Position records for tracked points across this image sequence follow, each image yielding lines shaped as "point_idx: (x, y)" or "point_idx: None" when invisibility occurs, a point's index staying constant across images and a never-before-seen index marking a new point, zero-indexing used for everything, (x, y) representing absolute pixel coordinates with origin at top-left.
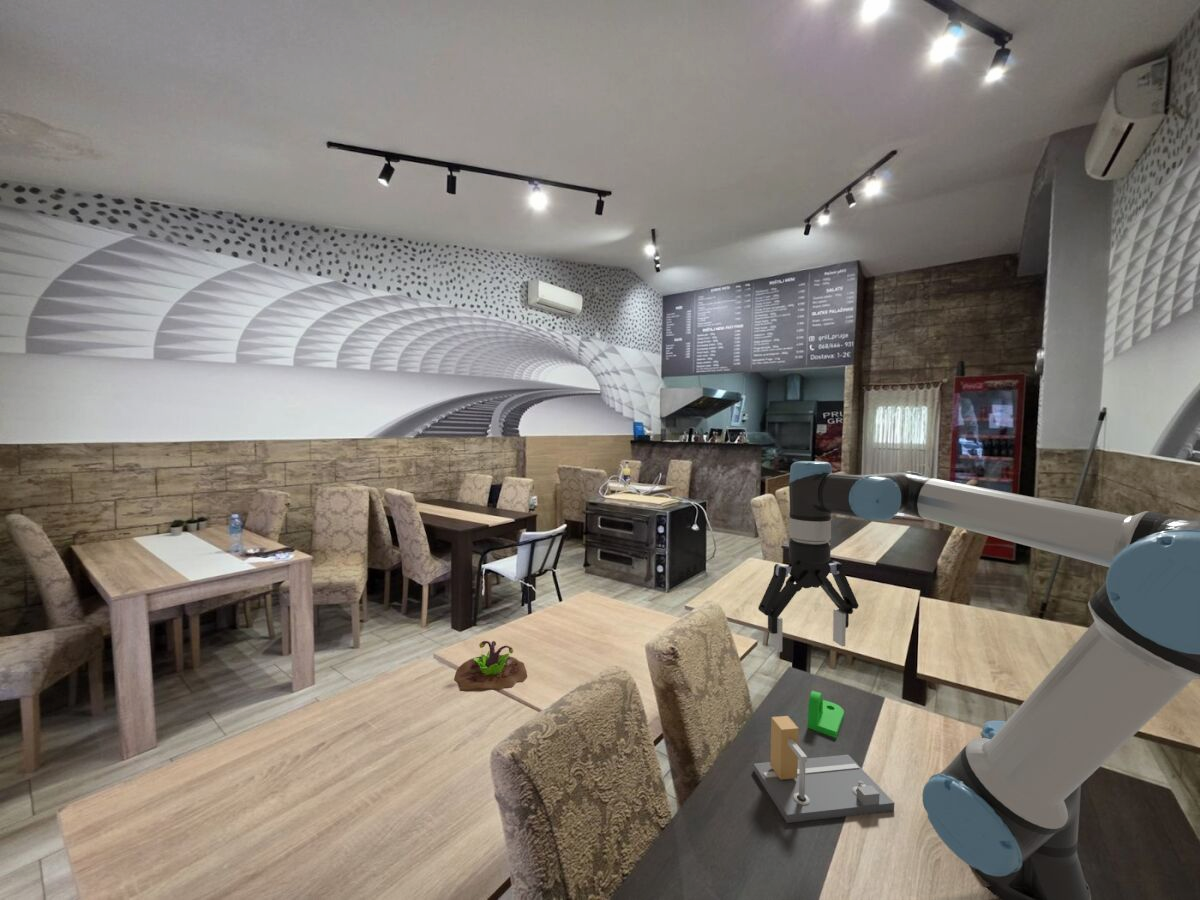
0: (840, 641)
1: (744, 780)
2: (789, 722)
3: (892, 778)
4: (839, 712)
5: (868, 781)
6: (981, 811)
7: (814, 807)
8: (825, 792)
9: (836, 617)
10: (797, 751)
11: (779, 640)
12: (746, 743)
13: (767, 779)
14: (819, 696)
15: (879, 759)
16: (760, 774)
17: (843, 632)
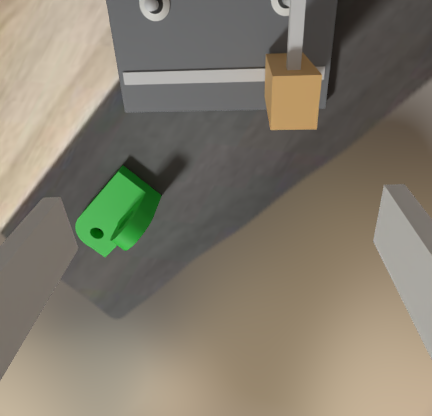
0: (55, 217)
1: (355, 81)
2: (282, 103)
3: (66, 55)
4: (86, 219)
5: (122, 34)
6: None
7: None
8: (226, 12)
9: (10, 325)
10: (304, 17)
11: (424, 217)
12: (295, 174)
13: (324, 61)
14: (123, 230)
15: (66, 107)
16: (328, 78)
17: (19, 237)
